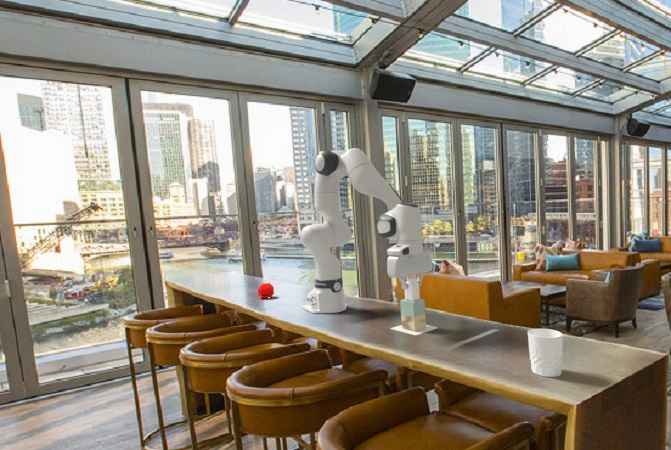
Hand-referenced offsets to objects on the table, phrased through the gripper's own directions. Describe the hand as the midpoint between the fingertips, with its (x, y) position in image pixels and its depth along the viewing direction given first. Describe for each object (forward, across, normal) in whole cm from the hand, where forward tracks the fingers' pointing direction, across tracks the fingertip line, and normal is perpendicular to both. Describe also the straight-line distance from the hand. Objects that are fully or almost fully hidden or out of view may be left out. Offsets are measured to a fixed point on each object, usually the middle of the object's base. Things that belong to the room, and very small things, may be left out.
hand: (411, 287), depth 143 cm
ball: (+16, +6, -98) cm, 99 cm away
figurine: (+16, -15, -21) cm, 30 cm away
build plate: (+15, 0, 0) cm, 16 cm away
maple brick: (+14, 0, 0) cm, 15 cm away
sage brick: (+10, 0, 0) cm, 10 cm away
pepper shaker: (+5, 0, 0) cm, 5 cm away
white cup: (+16, +5, +48) cm, 51 cm away
